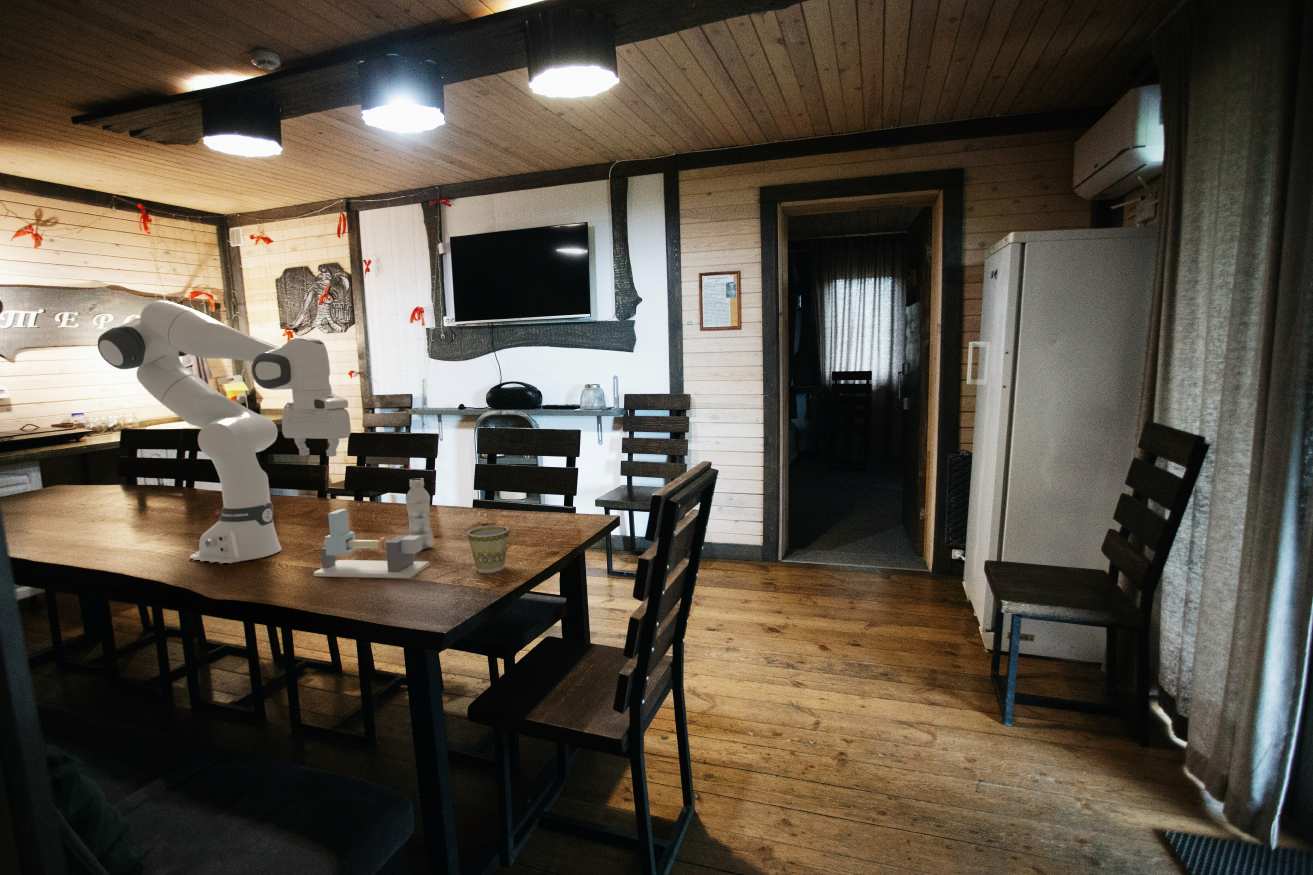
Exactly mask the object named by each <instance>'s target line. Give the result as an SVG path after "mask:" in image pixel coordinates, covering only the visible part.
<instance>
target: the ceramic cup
mask: <svg viewBox="0 0 1313 875" xmlns="http://www.w3.org/2000/svg"><path fill="white" fill-rule="evenodd" d="M513 532H516V533H517V536H516V537H515V538H514V539H513V540H512V541H511V542H510V543H509V545H508V540H509V537H510V535H511V534H512V533H513ZM519 537H520V531H519V530H518V529H516V528H511V529H509V527H507V526H504V525H485V526H478V527H475V528H471V529H470V530H468V531H467V538H468V543H469V545H470V550H471V552H472V556H473V561H474V565H475V570H476V571H477V572H478V573H479V574H492V573H497V571H498V572H500V571H502V570H503V569H504V568H505V565H506V564H505V563H506V555H507V553H508V552H507V551H508V549H510V547H511V546H512V545H513V544H514V543H515V542H516V541H517V540H518V539H519Z"/></svg>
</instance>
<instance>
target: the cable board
mask: <svg viewBox="0 0 1313 875" xmlns="http://www.w3.org/2000/svg"><path fill="white" fill-rule="evenodd" d="M346 547H347V548H356V549H379V551H380V552H386V560H368V559H367V560H366V559H365V560H362V559H360V560H358V559H357V560H356V559H350V560H349V559H337V560H336V555H326V545H325V540H324V541H323V547H322V548H320V551H321V552H320V554H321V555H320V556H321V563H322V565H321V566H322V567H321V568H320V569H318V570H315V571H313V577H327V578H328V577H329V578H330V577H333V578H334V577H335V578H371V579H372V578H382V579H384V578H385V579H411V578H413V577H414V576H416V575H417V574H418V573H420V572H422V571H423V570H424V569H426V568H428V567H430V561H419V560H417V561H416V560H414V554H415V555H416V554H418V553H419V552H421V551H422V536H412V535H409V534H399V535H396V536H395V537H394V538H392V539H390V537H388V536H382V537H381V538H380V539H355V540H346Z"/></svg>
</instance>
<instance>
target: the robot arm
mask: <svg viewBox="0 0 1313 875" xmlns="http://www.w3.org/2000/svg"><path fill="white" fill-rule="evenodd" d="M97 349H98V352H99V354H100V356H101V357H102V359H103V360H104V361H105V362H106V363H107V364H109V365H110V366H112V367H114V368H116V369H119V370H129V369H131V370H132V369H135V368H137V370H136V379H137V381H138V382H139V383H140V384H141V385H142V386H143V388H144V389H145V390H146V391H147V392H148V393H149V394H150V395H151V396H152V397H153V398H155V400H157V401H158V402H159V403H160V404H162V405H163V406H165V408H167V409H169V410H170V411H171V412H173V413H174V414H175V415H177V417H179V418H180V419H182V420H183V421H184V422H186V423H187V424H189V425H192V426H195V427H197V428H201V429H200V430H199V433H198V434H197V435H198V436H197V443H198V447H199V448H200V450H201V452H203V453H204V455H206V456H207V457H208V458H209V459H210V460H211V461H212V463H213V465H214V468H215V470H216V472H217V475H218V478H219V482H220V486H221V487H220V488H221V494H222V502H223V507H221V509H220V508H219V509H216V510H214V513H215V512H216V513H215V515H219V514H220V515H219V517H218V521H217V522H216V523H214V525H212V526H210V528H208V529H207V530H206V531H205V532H204V533H203V534H202V535H201V536H200V538H199V543H198V545H199V546H198V548H199V549H198V550H197V551H196V552H194V553H192V554H190V555H189V560H190V559H193V560H192V561H195V560H200V561H199V562H204V561H209V562H208V563H214V562H219V563H218V564H223V563H229V564H234V563H239V562H242V561H243V562H244V561H249V560H255V559H261V558H265V557H268V556H272V555H274V554H277V553H278V552H281V551H282V545H281V544H280V542H279V541H280V540H279V539H278V535H277V532H276V529H275V524H274V519H273V518H274V506H273V501H271V495H270V485H269V484H270V483H269V477H268V474H267V473H266V471H265V470H263V469H262V467H261V465H260V463H259V460H258V458H257V455H256V453H260V452H263V451H265V450H266V449H267V448H269V447H270V446H271V445H273V444H274V443H275V442H276V441H277V437H278V427H277V425H276V423H275V421H273V419H271V418H270V417H268V416H266V415H261V414H259V413H257V412H255V411H253V410H251V409H249V408H248V407H246V406H244V405H242V404H241V403H238V402H236V401H234V400H233V399H231V398H229V397H227V396H226V395H224V394H222V393H221V392H219V391H218V390H216V389H215V388H214V387H213V386H211V385H210V384H208V382H206V381H205V380H204V379H202V378H201V377H199V376H198V375H197V374H195V373H194V372H193V371H191V370H190V369H189V368H187V367H186V366H185V365H184V364H183V363H182V362H181V360H180V357H185V356H187V355H189V356H190V355H191V356H192V357H193V356H194V357H197V358H202V359H221V360H222V359H225V360H226V359H228V360H229V359H230V360H239V361H246V362H250V363H251V375H252V378H253V380H254V381H255V382H256V384H257V385H258V387H259V386H260V387H261V388H263V389H267V390H274V391H275V390H276V391H277V390H278V391H279V390H291V391H292V392H291V393H292V394H291V395H292V401H288V402H287V403H286V404H285V406H283V412H282V416H281V431H282V435H283V437H284V438H285V439H293V440H294V443H295V445H296V446H297V447H296V448H298V450H299V451H298V454H299V456H300V457H301V456H302V457H304V456H305V457H306V456H310V448H309V447H307V444H306V443H305V442H306V441H307V440H306V439H322V440H323V439H324V440H325V439H327V443H328V444H329V446H328V449H326V450H325V453H326V456H327V457H330V458H332V457H336V456H337V449H338V446H339V444H340V440H341V439H348V438H349V437H350V435H351V432H352V427H351V426H352V425H351V419H350V413H349V411H348V410H347V409H346V408H348V407H349V400H348V399H346V398H345V397H341V396H339V395H336V394H335V393H333V390H332V386H331V383H330V374H331V370H330V369H331V368H330V366H331V365H330V359H329V354H328V350H327V346H326V345H325V343H324V342H323V341H322V340H320V339H316V338H312V337H303V336H301V337H300V336H294V337H291V338H289V340H288V341H287V342H285V343H284V344H282V345H281V346H278V345H277V346H276V345H274V344H271V343H269V342H266V341H263V340H261V339H259V338H257V337H254V336H251V335H248V334H246V333H244V332H242V331H240V330H237V329H236V328H233V327H231V326H229V325H227V324H225V323H223V322H221V321H219V320H218V319H215V318H213V317H211V316H209V315H207V314H205V313H203V312H200V311H198V310H196V309H193V308H191V307H187V306H185V305H182V304H179V303H174V302H171V301H167V300H156V301H152V302H150V303H149V304H147V305H145V307H144V308H143V309H142V311H141V313H140V316H139V317H138V318H135V319H133V320H132V321H129V322H125V323H124V324H121V325H119V326H117V327H112V328H109V329H108V330H106V331H105V332H103V333H102V334H101V335H100V336H99V337H98V339H97ZM233 562H234V563H233Z"/></svg>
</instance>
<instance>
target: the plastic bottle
mask: <svg viewBox="0 0 1313 875" xmlns="http://www.w3.org/2000/svg"><path fill="white" fill-rule="evenodd" d="M424 486H425V482H424V478H420V477H419V478H411V479H409V487H410V489H409V490H408V491H407V494H406V495H405V506H406V508H407V514H408V523H409V525H408V526H409V533H408V535H412V536H422V550H423V551H424V550H426V549H430V548H431V547H432V546H433V544H434V535H433V532H432V527H431V521H430V520H431V519H430V505H431V504H430V503H431V496H430V493H429V492H428V491H427V490H426V489H425V487H424ZM422 550H421V551H422Z"/></svg>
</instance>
